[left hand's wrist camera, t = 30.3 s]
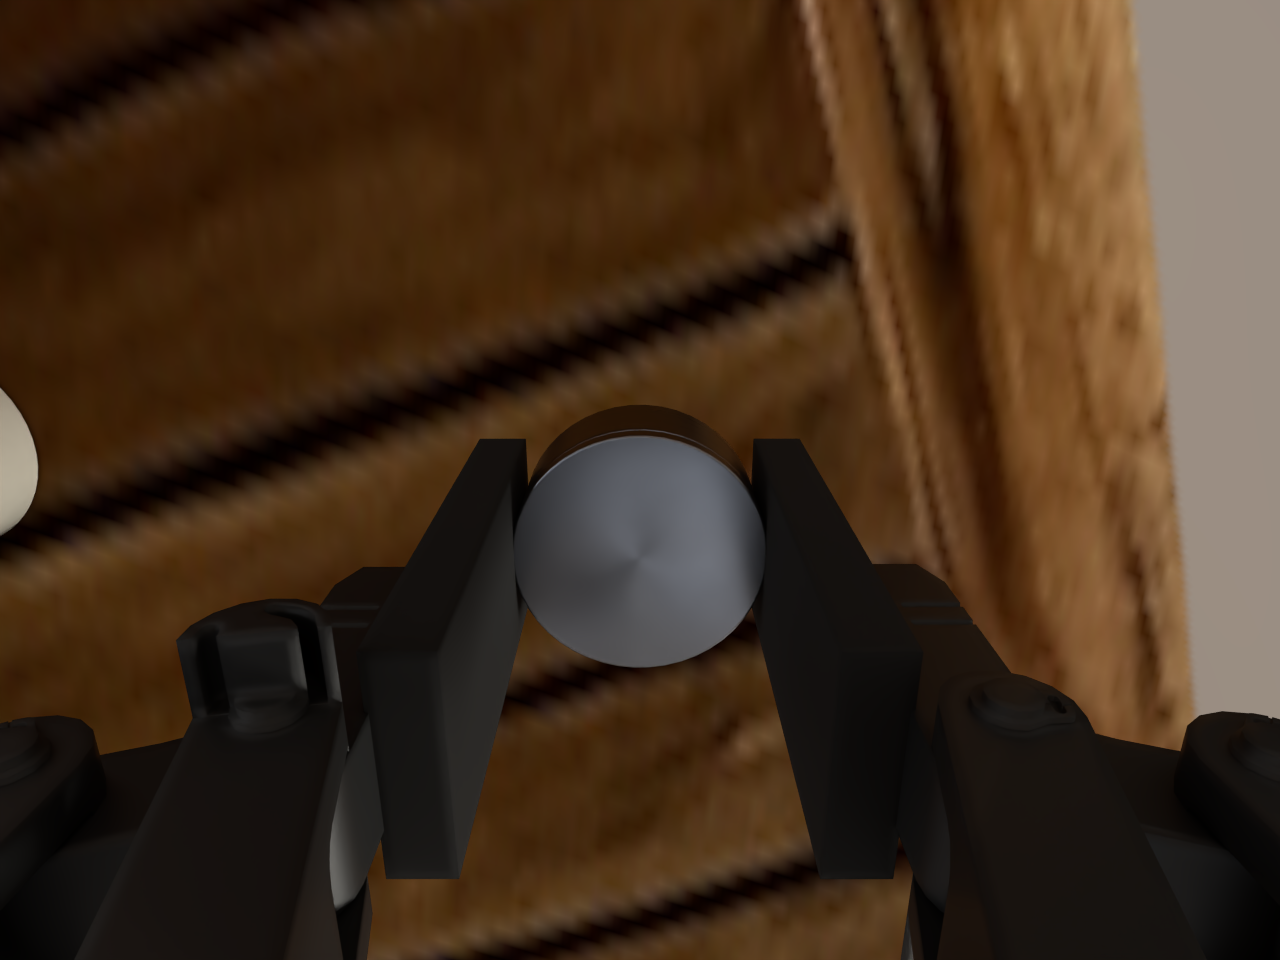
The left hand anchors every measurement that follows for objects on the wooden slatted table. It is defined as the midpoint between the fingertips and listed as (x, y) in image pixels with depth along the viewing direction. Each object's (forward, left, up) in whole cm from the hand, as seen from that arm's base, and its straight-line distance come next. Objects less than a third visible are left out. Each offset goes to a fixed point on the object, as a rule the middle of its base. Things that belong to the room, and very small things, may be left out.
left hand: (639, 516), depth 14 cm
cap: (0, 0, +1) cm, 1 cm away
